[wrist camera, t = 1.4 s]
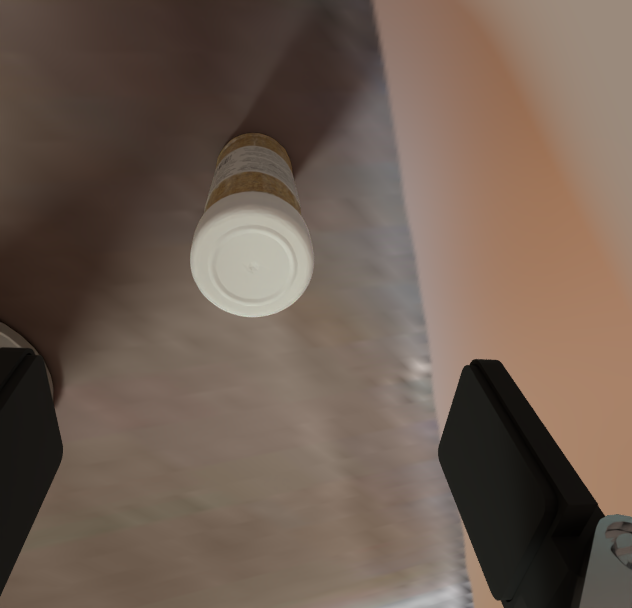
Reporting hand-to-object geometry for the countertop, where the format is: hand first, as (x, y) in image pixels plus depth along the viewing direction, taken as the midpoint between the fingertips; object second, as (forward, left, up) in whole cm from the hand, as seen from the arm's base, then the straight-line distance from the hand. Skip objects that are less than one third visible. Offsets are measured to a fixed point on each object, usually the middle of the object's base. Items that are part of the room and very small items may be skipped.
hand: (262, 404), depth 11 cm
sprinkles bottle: (0, 0, -21) cm, 21 cm away
